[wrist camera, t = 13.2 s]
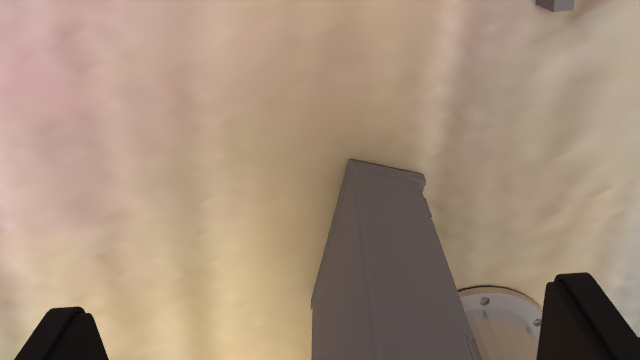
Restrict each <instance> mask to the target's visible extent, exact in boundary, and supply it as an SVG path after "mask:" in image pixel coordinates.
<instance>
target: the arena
mask: <svg viewBox="0 0 640 360" xmlns="http://www.w3.org/2000/svg"><path fill="white" fill-rule="evenodd" d="M536 5H538V6H541V7H543V8H546V9H548V10H550V11H553V12H557V11H568V10H573V8H574V0H536Z"/></svg>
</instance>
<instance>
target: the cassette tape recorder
mask: <svg viewBox="0 0 640 360" xmlns="http://www.w3.org/2000/svg"><path fill="white" fill-rule="evenodd" d="M425 183H426V180H425V177H424V175H423V174H418V173H414V172H409V171H404V170H399V169H394V168H389V167H384V166H379V165H374V164H369V163H365V162H360V161H355V160H350V159H349V163H348V166H347V170H346V174H345V177H344V181H343V185H342V188H341V192H340V196H339V200H338V203H337V207H336V211H335V214H334V218H333V222H332V225H331V229H330V233H329V236H328V240H327V244H326V248H325V251H324V255H323V259H322V262H321V266H320V270H319V273H318V277H317V281H316V284H315V288H314V292H313V296H312V299H311V309H313V315H312V358H311V360H482V358H481V355H480V353H479V350H478V347H477V344H476V341H475V339H474V336H473V333H472V330H471V328H470V325H469V322H468V319H467V316H466V314H465V311H464V308H463V305H462V303H461V300H460V297H459V294H458V291H457V289H456V286H455V283H454V280H453V278H452V275H451V272H450V269H449V266H448V264H447V261H446V258H445V255H444V253H443V250H442V247H441V244H440V241H439V239H438V236H437V233H436V230H435V228H434V225H433V222H432V219H431V217H432V216H431V213H430V210H429V207H428V205H427V202H426V199H425V198H424V197H423V194H422V191H423V189H424V186H425Z"/></svg>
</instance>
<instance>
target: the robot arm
mask: <svg viewBox="0 0 640 360" xmlns="http://www.w3.org/2000/svg"><path fill="white" fill-rule="evenodd" d="M458 294H459V297H460V300H461V303H462V305H463V308H464V311H465V314H466V316H467V319H468V322H469V325H470V328H471V330H472V333H473V336H474V339H475V341H476V344H477V347H478V350H479V353H480V355H481V358H482V360H640V337H637V336H636V334H635V333H634V332H633V330H632V329H631V328H630V326H629V325H628V324H627V322H626V321H625V320H624V318H623V317H622V316H621V314H620V313H619V312H618V310H617V309H616V308H615V306H614V305H613V304H612V302H611V301H610V300H609V298H608V297H607V296H606V294H605V293H604V292H603V290H602V289H601V288H600V286H599V285H598V283H597V282H596V281H595V279H594V278H593V277H592V276H591V275H590V274H589V273H586V272H585V273H570V274H559V275H557V276H556V277H555V280H554V282H549V283H547V285H546V290H545V298H544V305H543V311H542V310H541V309H540V307H539V306H538V305H537V304H536V303H535V302H534V301H532V300H531V299H530V298H528V297H526V296H524V295H523V294H521V293H519V292H515V291H512V290H509V289H504V288H496V287H479V288H473V289H468V290H463V291H460V292H458ZM14 360H109V359H108V357H107V354H106V351H105V348H104V346H103V343H102V340H101V337H100V335H99V332H98V329H97V326H96V323H95V321H94V318H93V316H92V315H91V314H90V313H85V311H84V309H83V308H81V307H65V308H53V309H50V310H49V311H48V312H47V313H46V314H45V316H44V317H43V319H42V320H41V322H40V323H39V324H38V326H37V327H36V329H35V330H34V332H33V333H32V335H31V336H30V337H29V339H28V340H27V342H26V343H25V345H24V346H23V348H22V349H21V351H20V352H19V353H18V355H17V356H16V358H15V359H14Z"/></svg>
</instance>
